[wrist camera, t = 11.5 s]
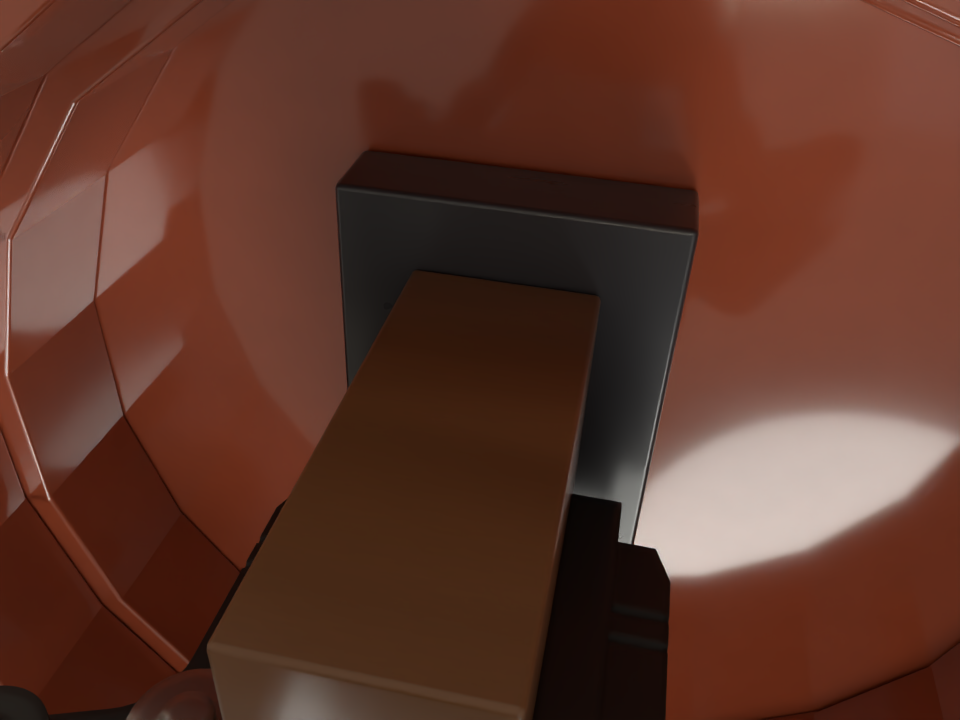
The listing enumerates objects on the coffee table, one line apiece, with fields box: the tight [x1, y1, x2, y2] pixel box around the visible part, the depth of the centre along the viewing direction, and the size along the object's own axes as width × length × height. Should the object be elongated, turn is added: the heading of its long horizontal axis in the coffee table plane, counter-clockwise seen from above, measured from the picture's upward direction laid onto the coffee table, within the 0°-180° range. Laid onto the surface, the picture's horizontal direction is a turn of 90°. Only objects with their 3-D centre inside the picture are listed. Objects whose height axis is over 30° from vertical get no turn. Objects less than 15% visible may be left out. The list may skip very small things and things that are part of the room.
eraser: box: [207, 151, 699, 720], centre depth 11 cm, size 9×4×7 cm, turn 178°
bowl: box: [0, 0, 960, 720], centre depth 12 cm, size 17×17×5 cm
